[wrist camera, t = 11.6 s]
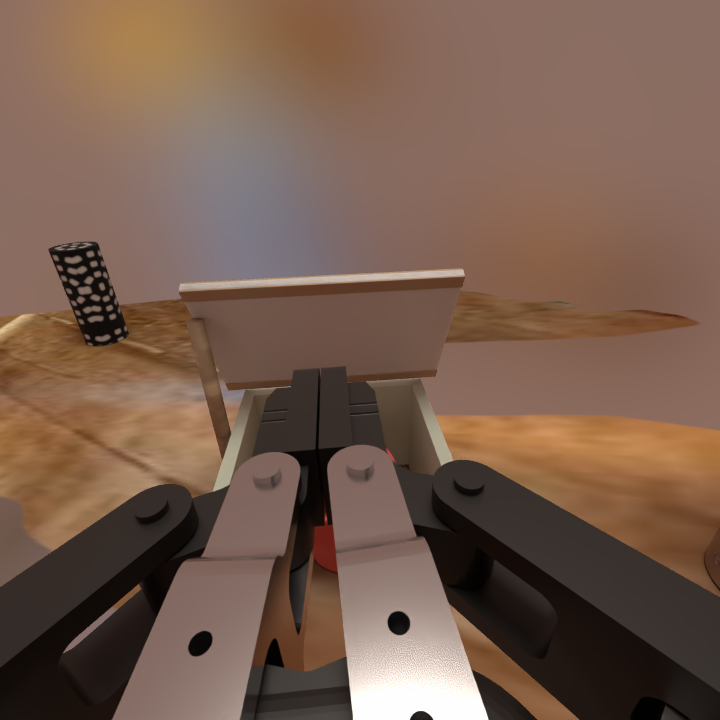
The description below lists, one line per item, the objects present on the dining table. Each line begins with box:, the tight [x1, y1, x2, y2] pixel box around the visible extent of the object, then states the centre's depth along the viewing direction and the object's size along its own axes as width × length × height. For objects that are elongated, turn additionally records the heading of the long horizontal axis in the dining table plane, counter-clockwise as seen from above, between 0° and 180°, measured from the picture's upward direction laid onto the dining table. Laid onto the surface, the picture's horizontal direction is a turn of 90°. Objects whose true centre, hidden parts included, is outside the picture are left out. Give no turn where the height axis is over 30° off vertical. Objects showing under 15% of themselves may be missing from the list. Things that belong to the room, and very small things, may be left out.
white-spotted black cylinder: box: [48, 242, 128, 346], centre depth 83 cm, size 8×8×20 cm
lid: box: [179, 268, 465, 390], centre depth 38 cm, size 23×15×1 cm
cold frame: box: [213, 379, 453, 491], centre depth 42 cm, size 20×15×12 cm
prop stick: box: [186, 318, 231, 461], centre depth 39 cm, size 1×1×24 cm
